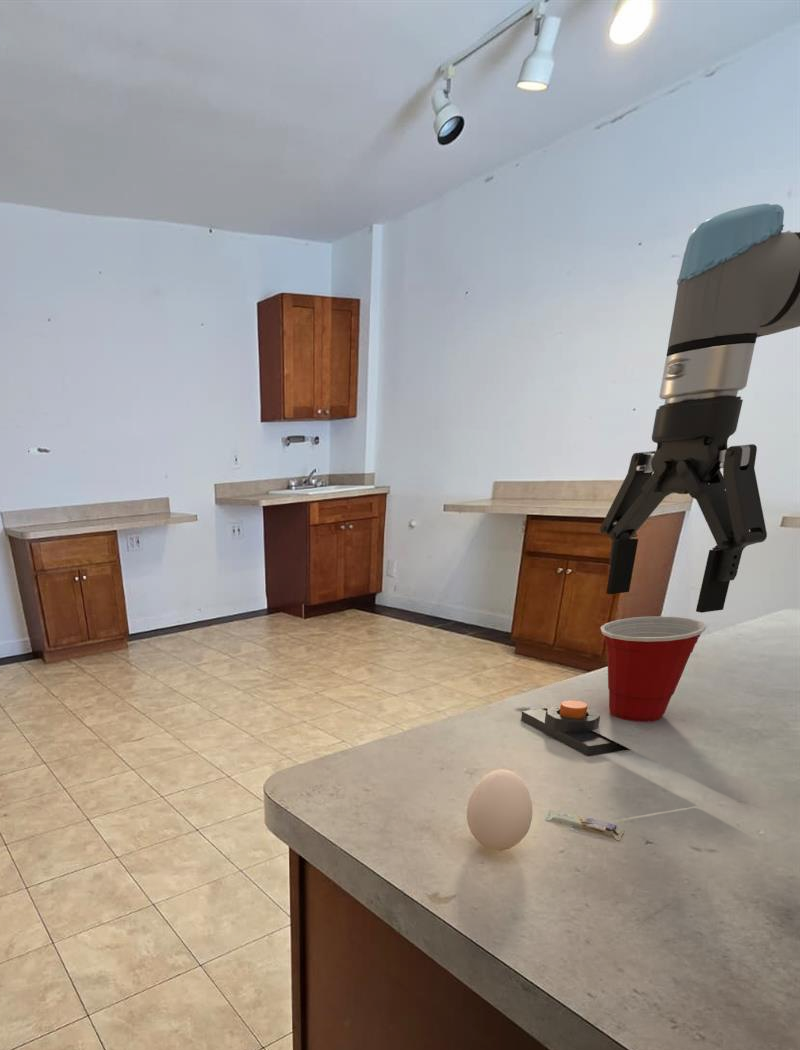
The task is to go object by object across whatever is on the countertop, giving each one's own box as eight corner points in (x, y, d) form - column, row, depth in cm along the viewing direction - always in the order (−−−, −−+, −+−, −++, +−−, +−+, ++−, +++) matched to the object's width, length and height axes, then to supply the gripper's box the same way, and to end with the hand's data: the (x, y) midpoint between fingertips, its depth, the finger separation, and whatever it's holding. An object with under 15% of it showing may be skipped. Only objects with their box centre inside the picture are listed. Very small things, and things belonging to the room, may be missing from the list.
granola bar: (542, 824, 63) (543, 815, 63) (549, 815, 65) (551, 806, 64) (618, 844, 59) (620, 835, 59) (624, 834, 61) (626, 825, 60)
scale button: (574, 710, 82) (576, 699, 82) (591, 718, 79) (593, 706, 79) (553, 713, 82) (555, 702, 81) (569, 721, 79) (571, 709, 78)
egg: (538, 860, 57) (551, 781, 54) (479, 866, 57) (488, 787, 54) (509, 829, 62) (519, 755, 59) (454, 835, 62) (461, 761, 59)
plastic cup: (575, 701, 88) (589, 615, 83) (662, 701, 86) (683, 612, 81) (600, 730, 79) (618, 634, 74) (699, 731, 76) (724, 632, 71)
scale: (636, 704, 90) (641, 683, 89) (718, 736, 78) (724, 713, 77) (517, 721, 87) (520, 700, 86) (583, 757, 75) (587, 734, 74)
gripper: (585, 413, 78) (562, 589, 87) (784, 383, 56) (725, 624, 65) (639, 409, 79) (611, 583, 88) (856, 377, 57) (789, 615, 66)
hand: (659, 601), depth 76 cm, fingers open, 13 cm apart
